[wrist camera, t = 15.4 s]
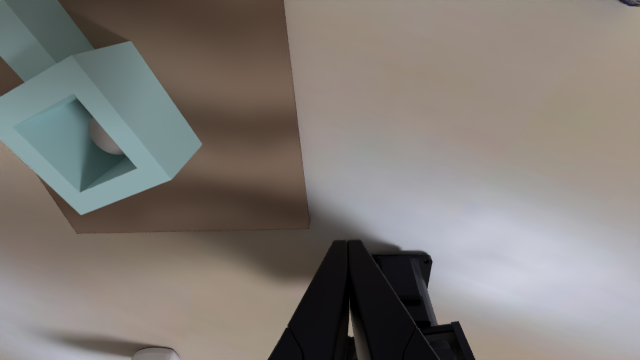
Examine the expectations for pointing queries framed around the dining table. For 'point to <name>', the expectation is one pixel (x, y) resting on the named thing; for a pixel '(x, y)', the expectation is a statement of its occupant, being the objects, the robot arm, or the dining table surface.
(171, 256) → the dining table surface
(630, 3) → the supplement box
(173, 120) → the collar
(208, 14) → the board
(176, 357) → the eye dropper bottle
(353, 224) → the dining table surface
